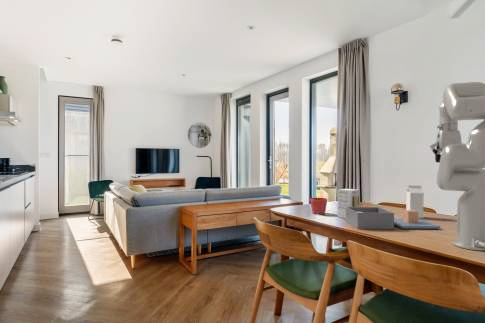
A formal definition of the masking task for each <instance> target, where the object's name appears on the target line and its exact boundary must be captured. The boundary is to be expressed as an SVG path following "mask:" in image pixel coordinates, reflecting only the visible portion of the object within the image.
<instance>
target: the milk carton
mask: <svg viewBox="0 0 485 323" xmlns="http://www.w3.org/2000/svg"><path fill="white" fill-rule="evenodd" d="M405 193H406V194H405V195H406V196H405V197H406V200H405V201H406V204H405V205H406V206H405V207H406V208H405V210H415V211H418V219H424V190H423V188H422V185H408V186H407V189H406V192H405Z"/></svg>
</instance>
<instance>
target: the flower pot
mask: <svg viewBox="0 0 485 323" xmlns="http://www.w3.org/2000/svg"><path fill="white" fill-rule="evenodd" d="M309 202H310V207H311V214H313V215H316V214H318V216H323V215H325V214H326V211H327V210H326V209H327V203H328V198H327V197H326V198H325V197H311V198H310V199H309Z"/></svg>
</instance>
